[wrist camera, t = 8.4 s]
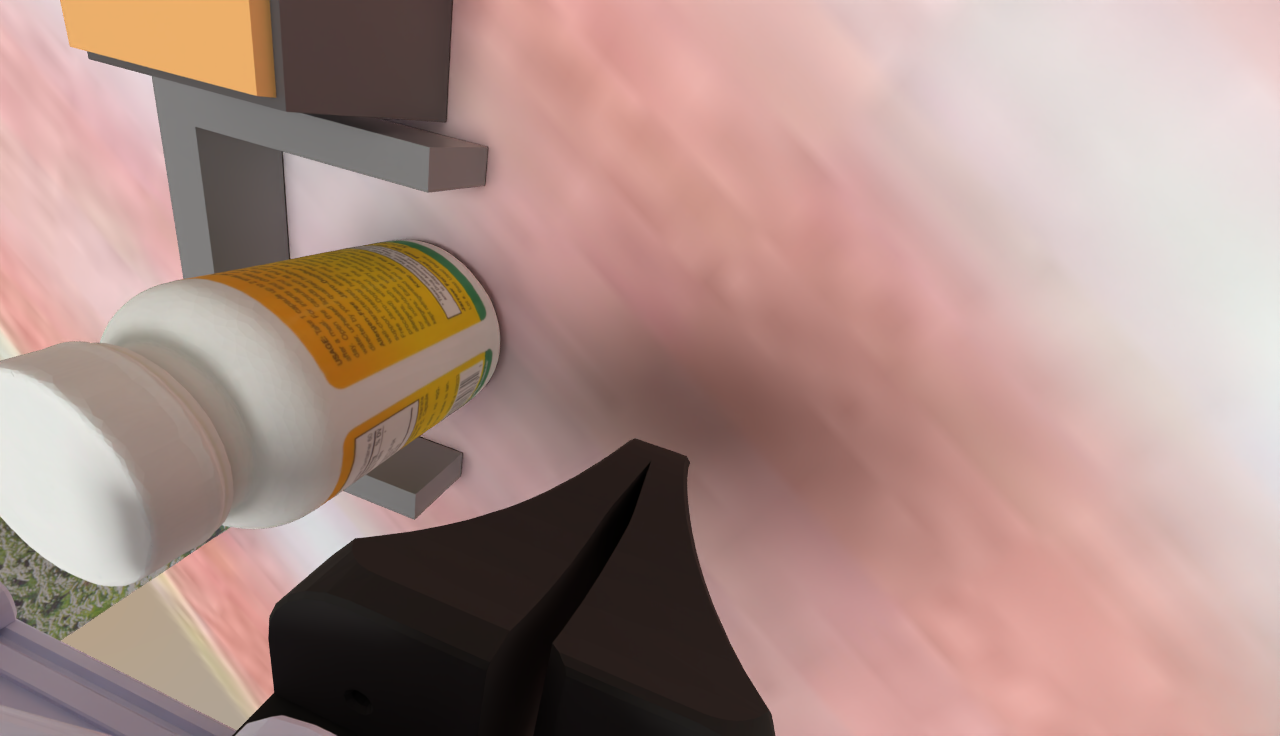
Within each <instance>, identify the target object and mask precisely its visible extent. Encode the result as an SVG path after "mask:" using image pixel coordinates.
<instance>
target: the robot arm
mask: <svg viewBox="0 0 1280 736" xmlns="http://www.w3.org/2000/svg"><path fill="white" fill-rule="evenodd" d="M689 464H690V461H689V460H688V458H687V456H684V455H682V454H679V453H676V452H673V451H670V450H667V449H664V448H661V447H658V446H655V445H653V444H650V443H647V442H644V441H641V440H638V439H633V440H630V441H629V442H627V443H626V444H625V445H623V446H622V447H620V448H619V449H618V450H616V451H615V452H613V453H612V454H610V455H609V456H607V457H606V458H604V459H603V460H601V461H600V462H598V463H597V464H595V465H593V466H592V467H590V468H589V469H587V470H585V471H584V472H582V473H580V474H579V475H577V476H575V477H573V478H572V479H570V480H568V481H566V482H564V483H562V484H560V485H558V486H556V487H554V488H553V489H551V490H549V491H547V492H544V493H542V494H540V495H538V496H536V497H533V498H531V499H529V500H526V501H524V502H522V503H519V504H517V505H514V506H511V507H509V508H505V509H502V510H499V511H496V512H492V513H489V514H486V515H483V516H479V517H476V518H473V519H469V520H465V521H461V522H457V523H453V524H449V525H444V526H439V527H434V528H429V529H424V530H418V531H412V532H405V533H397V534H390V535H382V536H374V537H366V538H355V539H354V540H353V541H351V542H350V543H349V544H347V545H346V546H345V547H343V548H342V549H340V550H339V551H338V552H336V553H335V554H334V555H332V556H331V557H330V558H329V559H327V560H326V561H325V562H324V563H323V564H322V565H320V566H319V567H318V568H317V569H316V570H315V571H313V572H312V573H311V574H310V575H309V576H308V577H306V578H305V579H304V580H303V581H302V582H301V583H299V584H298V585H297V586H296V587H295V588H294V589H292V590H291V591H290V592H289V593H288V594H287V595H286V596H284V597H283V598H282V599H281V600H280V601H279V602H277V603H276V605H275V607H274V609H273V611H272V613H271V615H270V618H269V637H268V639H269V648H270V657H271V666H272V675H273V684H274V692H275V693H274V694H273V695H272V696H271V697H270V698H269V699H268V700H267V701H266V702H265V703H264V704H263V705H262V706H261V707H260V708H259V709H258V710H257V711H256V712H255V713H254V714H253V715H252V716H251V717H250V718H249V719H248V720H247V721H246V722H245V723H244V724H243V725H242V726H241V727H240V728H239V729H238V730H237V731H236V730H234V729H233V728H231V727H228V726H227V725H225V724H223V723H221V722H219V721H217V720H215V719H213V718H211V717H209V716H207V715H205V714H203V713H201V712H199V711H197V710H195V709H193V708H191V707H189V706H187V705H185V704H183V703H181V702H179V701H177V700H175V699H173V698H171V697H170V696H167V695H166V694H164V693H162V692H160V691H157V690H156V689H154V688H152V687H150V686H148V685H146V684H144V683H142V682H140V681H138V680H136V679H134V678H132V677H130V676H128V675H126V674H124V673H122V672H120V671H118V670H116V669H115V668H113V667H111V666H109V665H107V664H104V663H103V662H101V661H98V660H97V659H95V658H93V657H91V656H89V655H87V654H85V653H83V652H81V651H79V650H77V649H75V648H73V647H71V646H69V645H67V644H65V643H63V642H61V641H59V640H57V639H55V638H54V637H52V636H50V635H48V634H46V633H44V632H42V631H40V630H38V629H36V628H34V627H32V626H30V625H28V624H26V623H24V622H22V621H20V620H18V619H16V616H17V610H16V606H15V603H14V600H13V598H12V596H11V594H10V592H9V591H8V589H7V588H6V586H5V585H4V584H3V583H2V582H1V581H0V736H775V731H774V725H773V720H772V714H771V713H770V711H769V709H768V708H767V706H766V704H765V703H764V701H763V700H762V698H761V696H760V695H759V693H758V692H757V690H756V688H755V687H754V685H753V684H752V682H751V680H750V679H749V677H748V676H747V674H746V672H745V671H744V669H743V667H742V665H741V663H740V661H739V659H738V657H737V655H736V653H735V652H734V650H733V648H732V646H731V644H730V642H729V639H728V637H727V635H726V633H725V630H724V628H723V626H722V624H721V621H720V619H719V617H718V615H717V612H716V610H715V608H714V605H713V603H712V600H711V597H710V595H709V592H708V589H707V586H706V583H705V580H704V577H703V574H702V571H701V567H700V564H699V560H698V556H697V552H696V548H695V543H694V539H693V534H692V528H691V522H690V515H689V506H688V496H687V474H688V467H689Z"/></svg>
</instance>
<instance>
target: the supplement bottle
mask: <svg viewBox="0 0 1280 736" xmlns="http://www.w3.org/2000/svg"><path fill="white" fill-rule="evenodd" d="M499 351H500V331H499V325H498V320H497V317H496V313H495V310H494V307H493V305H492V302H491V300H490V298H489V296H488V294H487V293H486V291H485V290H484V288H483V287H482V285H481V284H480V283H479V281H478V280H477V279H476V278H475V276H474V275H473V274H472V273H471V272H470V271H469V270H468V268H467V267H466V266H465V265H464V264H462V263H461V262H460V261H459V260H458V259H456V258H455V257H454V256H453V255H451V254H450V253H448V252H447V251H445V250H443V249H441V248H439V247H437V246H434V245H432V244H429V243H425V242H421V241H416V240H392V241H387V242H380V243H374V244H369V245H364V246H358V247H352V248H346V249H341V250H336V251H331V252H325V253H320V254H315V255H310V256H305V257H300V258H295V259H289V260H284V261H278V262H274V263H269V264H264V265H258V266H252V267H247V268H242V269H236V270H231V271H226V272H220V273H215V274H209V275H204V276H198V277H193V278H187V279H182V280H177V281H173V282H169V283H165V284H161V285H158V286H155V287H152V288H150V289H148V290H146V291H143V292H141V293H140V294H138V295H136V296H135V297H133V298H132V299H130V300H129V301H128V302H127V303H125V304H124V305H123V306H122V307H121V308H120V309H119V310H118V311H117V312H116V313H115V315H114V316H113V317H112V319H111V320H110V321H109V323H108V325H107V327H106V329H105V330H104V333H103V335H102V337H101V340H100V343H90V342H64V343H60V344H56V345H54V346H51V347H48V348H45V349H42V350H39V351H35V352H31V353H28V354H24V355H20V356H16V357H13V358H9V359H5V360H1V361H0V517H1V518H2V519H3V520H4V521H5V522H6V523H7V524H8V525H9V527H10V528H11V529H12V530H14V531H15V532H16V533H17V534H18V536H19V537H20V538H21V539H22V540H23V541H24V542H26V543H27V544H28V545H29V546H30V547H31V548H32V549H34V550H35V551H36V552H37V553H39V554H40V555H41V556H42V557H44V558H45V559H47V560H48V561H50V562H51V563H53V564H54V565H56V566H57V567H58V568H60V569H62V570H64V571H66V572H68V573H70V574H72V575H74V576H76V577H79V578H81V579H83V580H86V581H88V582H91V583H94V584H97V585H102V586H126V585H130V584H133V583H135V582H138V581H140V580H142V579H143V578H145V577H147V576H148V575H150V574H152V573H153V572H155V571H157V570H158V569H160V568H161V567H163V566H165V565H166V564H168V563H170V562H171V561H173V560H175V559H176V558H178V557H180V556H181V555H183V554H185V553H186V552H188V551H190V550H192V549H194V548H196V547H198V546H200V545H202V544H203V543H204V542H205V541H207V540H208V539H209V538H210V537H211V536H212V535H213V533H214V532H215V531H216V530H217V529H218V528H219V527H220V526H221V525H224V526H228V527H234V528H242V529H264V528H272V527H277V526H281V525H284V524H287V523H290V522H293V521H295V520H298V519H300V518H302V517H304V516H305V515H307V514H309V513H310V512H312V511H314V510H315V509H317V508H318V507H320V506H321V505H323V504H324V503H326V502H327V501H328V500H330V499H332V498H333V497H335V496H336V495H338V494H339V493H340V492H342V491H343V490H344V489H346V488H347V487H349V486H350V485H352V484H353V483H355V482H356V481H357V480H359V479H360V478H362V477H363V476H364V475H366V474H367V473H369V472H370V471H371V470H373V469H374V468H375V467H377V466H378V465H380V464H381V463H383V462H384V461H385V460H387V459H388V458H389V457H391V456H392V455H394V454H395V453H396V452H398V451H399V450H400V449H402V448H403V447H405V446H406V445H407V444H409V443H410V442H412V441H413V440H414V439H416V438H417V437H419V436H420V435H422V434H423V433H424V432H426V431H427V430H429V429H430V428H432V427H433V426H435V425H436V424H438V423H439V422H440V421H442V420H443V419H445V418H446V417H447V416H449V415H450V414H452V413H453V412H455V411H456V410H458V409H459V408H460V407H462V406H463V405H465V404H466V403H467V402H468V401H470V400H471V399H472V398H474V397H475V396H476V395H477V394H478V393H479V392H480V391H481V390H482V389H483V388H484V387H485V386H486V384H487V383H488V382H489V380H490V378H491V377H492V375H493V373H494V371H495V368H496V365H497V362H498V358H499Z"/></svg>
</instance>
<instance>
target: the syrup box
mask: <svg viewBox="0 0 1280 736" xmlns="http://www.w3.org/2000/svg"><path fill="white" fill-rule="evenodd" d="M228 528H230V527H228V526H224V525H221V526H220V527H219V528H218V529H217V530H216V531H215V532H214V533H213V535H212V536H211V537H210V538H209V539H208V540H207V541H205V542H204V543H203V544H202V545H200V546H198V547H196V548H194V549H192V550H190V551H188V552H186V553H185V554H183V555H181V556H180V557H178V558H176V559H175V560H173V561H171V562H170V563H168V564H166V565H165V566H163V567H161V568H160V569H158V570H157V571H155V572H153V573H152V574H150V575H148V576H147V577H145V578H143V579H142V580H140V581H138V582H135V583H133V584H130V585H126V586H102V585H97V584H94V583H91V582H88V581H86V580H83V579H81V578H79V577H76V576H74V575H72V574H70V573H68V572H66V571H64V570H62V569H60V568H58V567H57V566H56V565H54V564H53V563H51V562H50V561H48V560H47V559H45V558H44V557H42V556H41V555H40V554H39V553H37V552H36V551H35V550H34V549H32V548H31V547H30V546H29V545H28V544H27V543H26V542H24V541H23V540H22V539H21V538H20V537H19V536H18V534H17V533H16V532H15V531H14V530H12V529H11V528H10V527H9V525H8V524H7V523H6V522H5V521H4V520H3V519H2V518H1V517H0V581H1V582H2V583H3V584H4V585H5V586H6V588H7V589H8V591H9V592H10V594H11V596H12V598H13V600H14V603H15V606H16V610H17V616H16V619H18V620H20V621H22V622H24V623H26V624H28V625H30V626H32V627H34V628H36V629H38V630H40V631H42V632H44V633H46V634H48V635H50V636H52V637H54V638H55V639H57V640H59V641H61V640H62V639H64V638H65V637H67V636H68V635H70V634H71V633H73V632H74V631H76V630H77V629H79V628H80V627H82V626H83V625H85V624H86V623H88V622H89V621H91V620H92V619H94V618H95V617H97V616H98V615H99V614H101V613H102V612H104V611H105V610H107V609H108V608H110V607H111V606H113V605H114V604H116V603H118V602H119V601H121V600H122V599H124V598H125V597H126V596H128V595H129V594H131V593H132V592H134V591H135V590H137V589H138V588H140V587H141V586H143V585H144V584H146V583H147V582H149V581H150V580H152V579H153V578H155V577H156V576H158V575H159V574H161V573H162V572H164V571H165V570H167V569H168V568H170V567H171V566H173V565H175V564H176V563H178V562H179V561H181V560H182V559H183V558H185V557H186V556H188V555H189V554H191V553H192V552H194V551H195V550H197V549H198V548H200V547H201V546H203V545H204V544H206V543H207V542H208V541H210V540H211V539H213V538H215V537H216V536H218V535H219V534H221V533H223V532H224V531H226V530H227V529H228Z"/></svg>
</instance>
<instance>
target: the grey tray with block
mask: <svg viewBox="0 0 1280 736" xmlns="http://www.w3.org/2000/svg"><path fill="white" fill-rule="evenodd" d="M60 2H61V6H62V11H63V16H64V21H65V25H66V30H67V35H68V40H69V45H70V47H74V48H77V49H81V50H85V51H87V53H88V58H89V59H91V60H95V61H98V62H102V63H106V64H109V65H113V66H117V67H121V68H124V69H128V70H132V71H136V72H139V73H143V74H147V75H150V76H152V81H153V87H154V94H155V100H156V107H157V113H158V119H159V126H160V132H161V138H162V145H163V151H164V158H165V164H166V170H167V177H168V183H169V189H170V196H171V202H172V209H173V215H174V221H175V228H176V234H177V240H178V247H179V253H180V260H181V266H182V272H183V279H187V278H193V277H198V276H204V275H209V274H215V273H220V272H226V271H231V270H236V269H242V268H247V267H252V266H258V265H264V264H269V263H274V262H278V261H284V260H289V251H288V237H287V222H286V208H285V193H284V179H283V165H282V151H283V152H286V153H290V154H293V155H297V156H301V157H304V158H308V159H311V160H315V161H318V162H322V163H325V164H329V165H332V166H336V167H339V168H343V169H346V170H350V171H353V172H357V173H361V174H364V175H368V176H371V177H375V178H378V179H382V180H385V181H389V182H392V183H396V184H399V185H403V186H406V187H410V188H413V189H417V190H420V191H424V192H436V191H445V190H453V189H461V188H469V187H477V186H485V177H486V165H487V153H488V147H486V146H482V145H478V144H474V143H470V142H466V141H463V140H459V139H455V138H451V137H447V136H443V135H440V134H436V133H432V132H428V131H424V130H421V129H417V128H413V127H409V126H405V125H401V124H398V123H394V122H390V121H386V120H382V119H378V118H390V119H406V120H422V121H437V122H446V110H447V91H448V71H449V52H450V32H451V13H452V0H60ZM461 464H462V453H461V452H458V451H455V450H453V449H450V448H447V447H445V446H442V445H439V444H437V443H434V442H431V441H429V440H426V439H423V438H420V437H417V438H416V439H414V440H413V441H412V442H410V443H409V444H407V445H406V446H405V447H403V448H402V449H400V450H399V451H398V452H396V453H395V454H394V455H392V456H391V457H389V458H388V459H387V460H385V461H384V462H383V463H381V464H380V465H378V466H377V467H375V468H374V469H373V470H371V471H370V472H369V473H367V474H366V475H364V476H363V477H362V478H360V479H359V480H357V481H356V482H355V483H353V484H352V485H350V486H349V487H347V488H346V489H344V490H343V491H345V492H347V493H350V494H352V495H355V496H357V497H360V498H362V499H365V500H367V501H370V502H372V503H375V504H377V505H380V506H382V507H385V508H387V509H389V510H392V511H394V512H397V513H399V514H402V515H404V516H407V517H409V518H412V519H414V520H415V519H416V518H417V517H418V516H419V515H420V514H421V513H422V512H423V511H424V510H425V509H426V508H427V507H428V506H429V505H431V504H432V503H433V502H434V501H435V500H436V499H437V498H438V497H439V496H440V495H441V494H442V493H443V492H444V491H445V490H446V489H447V488H449V487H450V486H451V485H452V484H453V483H454V482H455V481H456V480H457V479H458V478H459V477H460V476H461Z"/></svg>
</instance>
